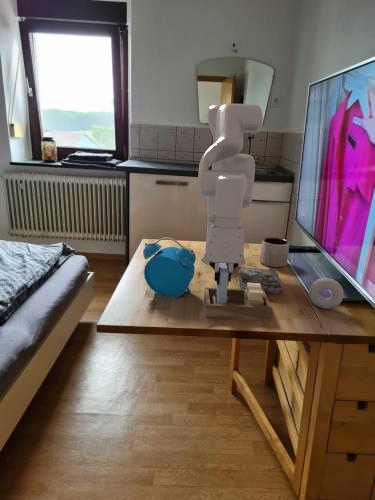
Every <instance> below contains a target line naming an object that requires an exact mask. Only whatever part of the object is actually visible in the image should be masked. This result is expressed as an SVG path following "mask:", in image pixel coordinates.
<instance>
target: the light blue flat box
mask: <svg viewBox="0 0 375 500" xmlns="http://www.w3.org/2000/svg"><path fill="white" fill-rule="evenodd" d="M227 267H228V265H226V263H219V268H220V282H219V285H217V284H216V288H217V291H216V302H217V304H226V298H227V288H228V286H229V283H228V275H229V273H228V269H227Z"/></svg>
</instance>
